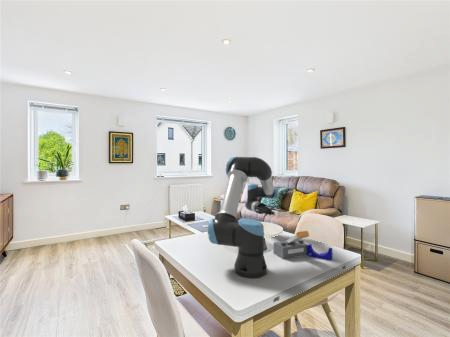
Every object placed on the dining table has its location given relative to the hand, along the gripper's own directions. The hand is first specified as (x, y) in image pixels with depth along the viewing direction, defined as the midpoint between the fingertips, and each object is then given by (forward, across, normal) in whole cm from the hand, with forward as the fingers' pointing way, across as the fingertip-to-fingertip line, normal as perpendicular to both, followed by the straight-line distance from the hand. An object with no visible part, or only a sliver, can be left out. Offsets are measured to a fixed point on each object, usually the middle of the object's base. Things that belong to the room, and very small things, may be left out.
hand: (278, 214), depth 145 cm
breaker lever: (+12, 0, -13) cm, 18 cm away
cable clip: (+21, -13, -20) cm, 32 cm away
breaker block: (+12, 0, -20) cm, 23 cm away
